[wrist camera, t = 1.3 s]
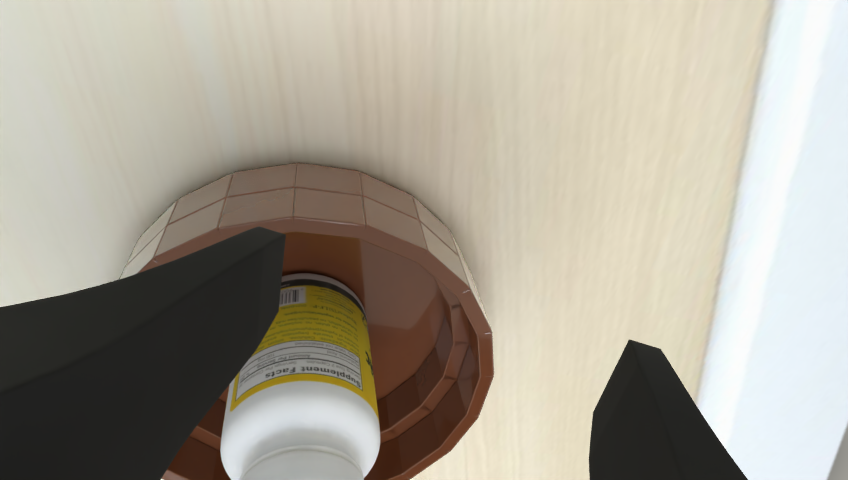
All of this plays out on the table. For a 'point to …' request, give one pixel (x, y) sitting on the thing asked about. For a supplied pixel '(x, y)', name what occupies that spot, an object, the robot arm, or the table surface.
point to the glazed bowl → (370, 281)
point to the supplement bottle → (305, 391)
